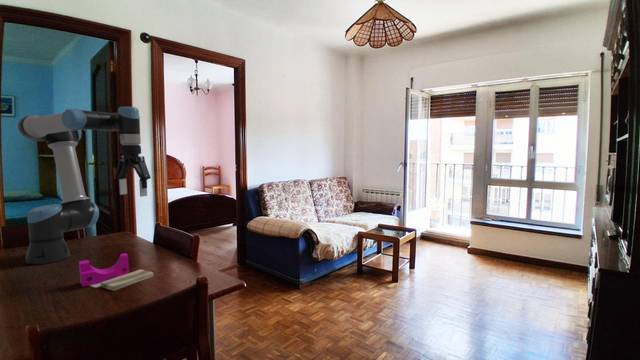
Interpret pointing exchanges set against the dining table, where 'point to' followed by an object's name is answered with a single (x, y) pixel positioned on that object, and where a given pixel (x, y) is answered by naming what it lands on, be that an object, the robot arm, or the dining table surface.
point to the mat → (95, 285)
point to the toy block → (102, 271)
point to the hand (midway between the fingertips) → (133, 195)
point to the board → (126, 279)
